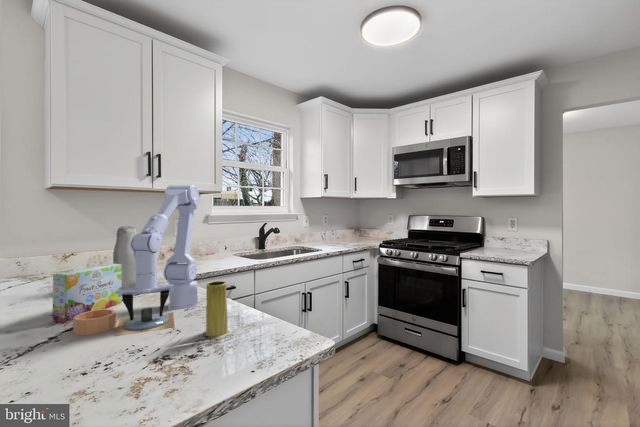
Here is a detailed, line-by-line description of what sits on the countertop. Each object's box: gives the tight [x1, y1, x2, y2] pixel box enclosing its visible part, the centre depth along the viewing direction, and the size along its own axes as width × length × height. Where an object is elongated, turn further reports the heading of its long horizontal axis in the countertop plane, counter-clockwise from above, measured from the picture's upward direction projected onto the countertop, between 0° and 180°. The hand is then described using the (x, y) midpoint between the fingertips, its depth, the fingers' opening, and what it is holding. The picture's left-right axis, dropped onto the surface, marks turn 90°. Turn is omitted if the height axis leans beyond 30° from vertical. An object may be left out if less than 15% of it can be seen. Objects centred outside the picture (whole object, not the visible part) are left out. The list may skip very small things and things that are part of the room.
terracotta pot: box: [72, 308, 118, 336], centre depth 91 cm, size 10×10×4 cm
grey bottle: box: [112, 225, 137, 289], centre depth 138 cm, size 10×10×28 cm
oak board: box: [113, 311, 175, 337], centre depth 95 cm, size 15×15×1 cm
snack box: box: [52, 263, 122, 323], centre depth 107 cm, size 21×6×15 cm, turn 168°
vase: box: [204, 280, 229, 338], centre depth 87 cm, size 6×6×14 cm
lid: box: [123, 306, 169, 330], centre depth 95 cm, size 12×12×4 cm
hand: (146, 317), depth 95 cm, fingers open, 7 cm apart
